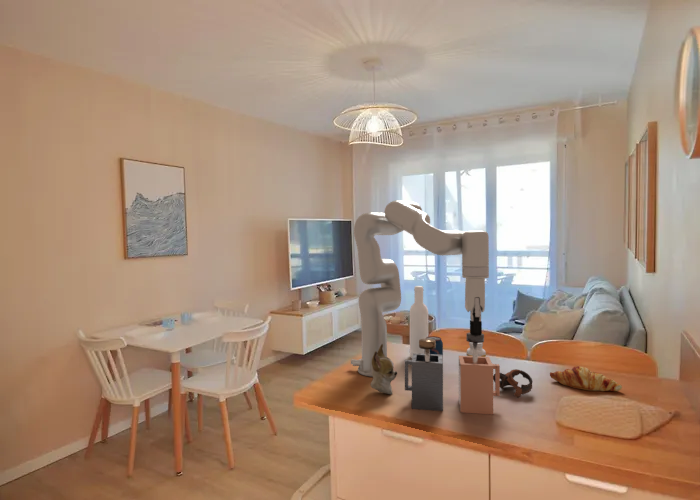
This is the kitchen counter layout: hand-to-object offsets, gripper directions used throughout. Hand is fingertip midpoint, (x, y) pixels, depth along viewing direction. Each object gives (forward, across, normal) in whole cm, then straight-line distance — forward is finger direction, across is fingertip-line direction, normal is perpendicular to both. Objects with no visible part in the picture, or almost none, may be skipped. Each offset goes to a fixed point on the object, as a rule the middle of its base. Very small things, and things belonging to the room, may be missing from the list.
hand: (475, 334), depth 122 cm
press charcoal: (+22, 0, -15) cm, 27 cm away
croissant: (+22, -24, +37) cm, 50 cm away
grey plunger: (+18, 0, 0) cm, 18 cm away
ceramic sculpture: (+22, -6, -28) cm, 36 cm away
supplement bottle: (+22, -27, +3) cm, 35 cm away
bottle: (+22, -49, -18) cm, 57 cm away
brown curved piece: (+22, -15, +13) cm, 30 cm away
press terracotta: (+22, 0, +1) cm, 22 cm away
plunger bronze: (+21, 0, -14) cm, 25 cm away
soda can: (+22, -34, -12) cm, 42 cm away
